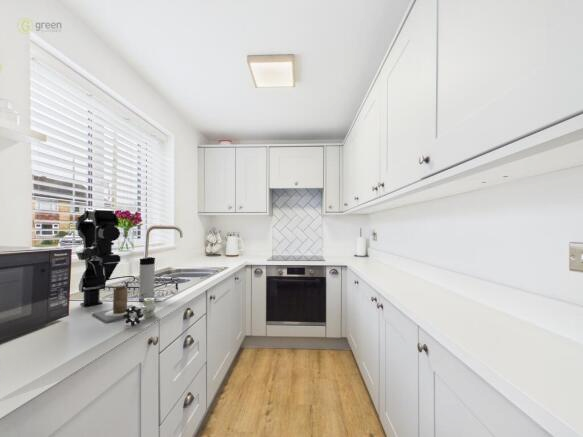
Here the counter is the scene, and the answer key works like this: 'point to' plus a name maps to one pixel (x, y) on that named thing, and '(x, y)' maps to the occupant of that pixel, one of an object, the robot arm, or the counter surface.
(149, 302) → the valve
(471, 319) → the counter surface
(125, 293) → the pepper mill
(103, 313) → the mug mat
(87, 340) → the counter surface
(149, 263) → the travel mug
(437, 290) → the counter surface
